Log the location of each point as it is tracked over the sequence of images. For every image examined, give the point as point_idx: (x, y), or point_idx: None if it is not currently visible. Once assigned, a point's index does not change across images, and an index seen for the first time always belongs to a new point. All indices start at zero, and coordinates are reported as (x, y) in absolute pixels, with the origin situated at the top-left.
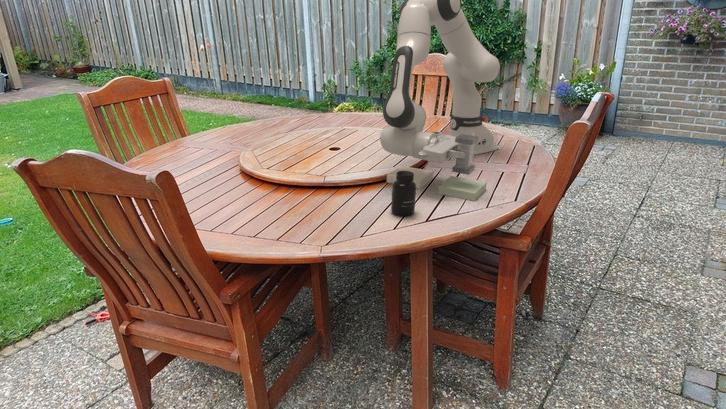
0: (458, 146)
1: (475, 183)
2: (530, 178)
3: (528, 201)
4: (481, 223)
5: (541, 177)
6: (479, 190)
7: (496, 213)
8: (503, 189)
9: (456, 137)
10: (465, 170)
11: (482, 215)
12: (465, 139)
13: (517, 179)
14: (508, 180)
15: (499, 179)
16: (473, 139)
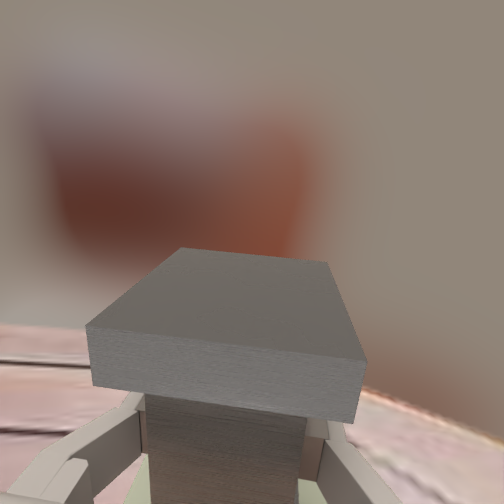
0: (303, 425)
1: None
2: (23, 347)
3: None
4: (492, 445)
5: (21, 328)
6: None
7: (375, 412)
8: None
9: (347, 351)
10: (296, 487)
11: (431, 450)
12: (338, 291)
13: (24, 376)
14: (29, 400)
15: (4, 431)
16: (300, 260)
